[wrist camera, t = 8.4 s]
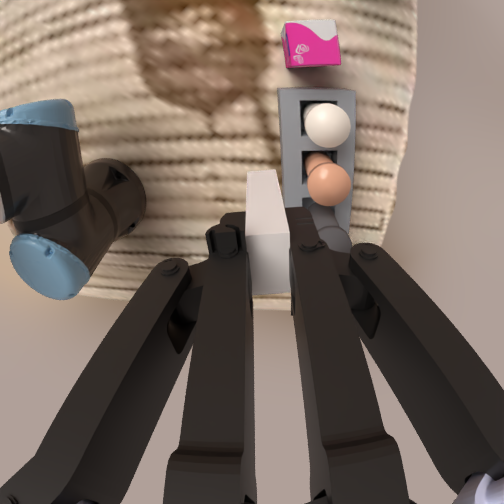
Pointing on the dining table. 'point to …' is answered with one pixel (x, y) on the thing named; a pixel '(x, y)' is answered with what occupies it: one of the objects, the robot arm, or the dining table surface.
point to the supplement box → (310, 43)
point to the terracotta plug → (326, 179)
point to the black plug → (330, 228)
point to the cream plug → (325, 124)
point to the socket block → (313, 145)
